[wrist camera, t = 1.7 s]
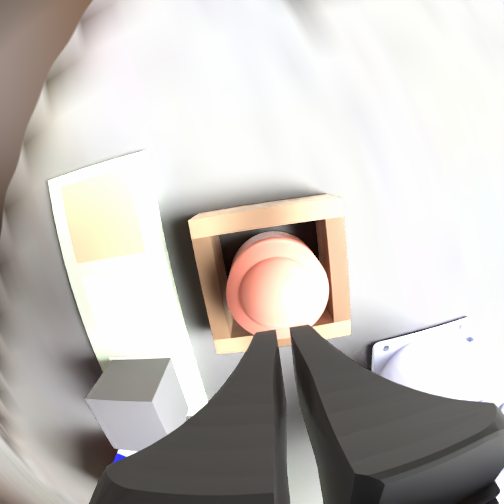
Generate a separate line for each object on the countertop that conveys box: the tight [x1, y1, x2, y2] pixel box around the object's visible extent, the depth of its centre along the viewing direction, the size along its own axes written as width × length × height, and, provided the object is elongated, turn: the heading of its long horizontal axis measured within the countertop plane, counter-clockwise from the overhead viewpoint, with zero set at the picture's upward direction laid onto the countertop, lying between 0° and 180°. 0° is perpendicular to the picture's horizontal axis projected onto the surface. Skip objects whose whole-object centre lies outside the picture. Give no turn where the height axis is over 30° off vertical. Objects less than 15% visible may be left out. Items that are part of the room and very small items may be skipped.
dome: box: [226, 231, 329, 339], centre depth 16 cm, size 5×5×4 cm
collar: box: [188, 194, 351, 354], centre depth 18 cm, size 8×8×3 cm
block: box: [85, 358, 189, 451], centre depth 19 cm, size 5×5×5 cm
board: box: [48, 150, 208, 416], centre depth 20 cm, size 8×20×1 cm, turn 9°
